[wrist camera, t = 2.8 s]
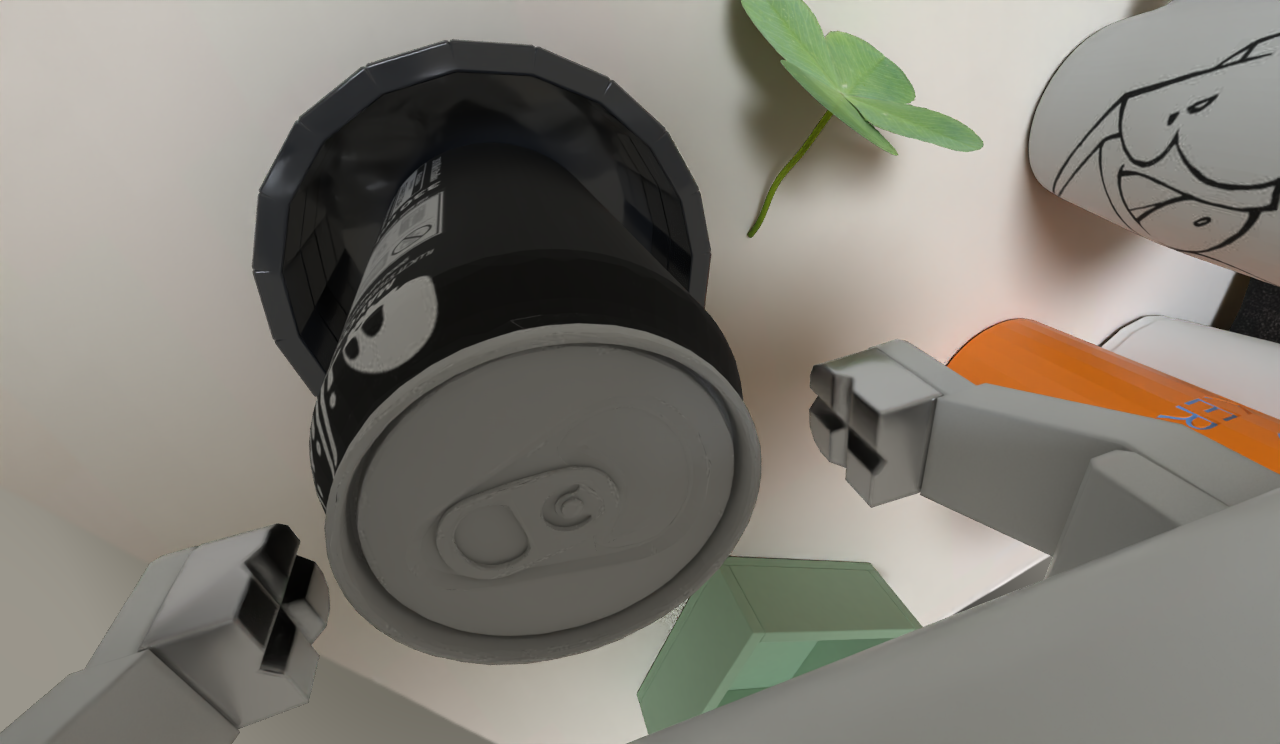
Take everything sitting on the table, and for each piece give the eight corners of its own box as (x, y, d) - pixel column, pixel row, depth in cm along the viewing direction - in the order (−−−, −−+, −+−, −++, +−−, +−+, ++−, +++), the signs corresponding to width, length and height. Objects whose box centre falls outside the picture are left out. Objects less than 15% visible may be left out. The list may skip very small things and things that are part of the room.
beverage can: (621, 308, 19) (802, 579, 10) (440, 371, 19) (431, 739, 9) (568, 109, 16) (769, 214, 6) (339, 177, 15) (127, 429, 5)
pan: (276, 365, 17) (236, 441, 14) (321, -39, 13) (277, -68, 10) (602, 416, 22) (630, 481, 19) (714, 130, 18) (775, 150, 14)
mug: (1087, -143, 17) (1696, -326, 9) (1271, -122, 19) (1902, -253, 11) (973, 226, 23) (1272, 328, 14) (1123, 212, 25) (1460, 293, 17)
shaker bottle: (1011, 447, 31) (1632, 887, 15) (887, 456, 29) (1490, 1015, 12) (1094, 302, 27) (2080, 688, 11) (960, 294, 24) (2027, 807, 8)
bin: (636, 694, 33) (660, 778, 29) (712, 555, 28) (753, 633, 25) (785, 682, 38) (823, 754, 34) (870, 562, 33) (924, 628, 29)
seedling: (707, 127, 22) (802, -49, 17) (858, 254, 22) (1004, 112, 17) (600, 191, 18) (683, -17, 13) (784, 352, 18) (950, 202, 12)
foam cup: (1083, 310, 27) (1499, 482, 16) (1225, 268, 29) (1687, 399, 18) (1033, 455, 32) (1325, 658, 21) (1156, 412, 34) (1484, 581, 23)
